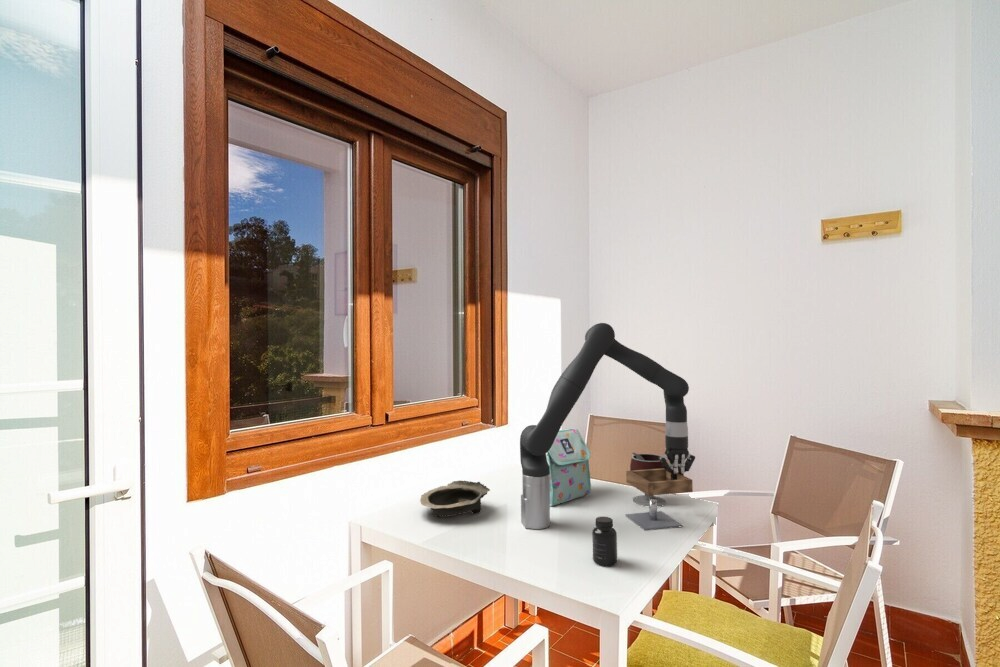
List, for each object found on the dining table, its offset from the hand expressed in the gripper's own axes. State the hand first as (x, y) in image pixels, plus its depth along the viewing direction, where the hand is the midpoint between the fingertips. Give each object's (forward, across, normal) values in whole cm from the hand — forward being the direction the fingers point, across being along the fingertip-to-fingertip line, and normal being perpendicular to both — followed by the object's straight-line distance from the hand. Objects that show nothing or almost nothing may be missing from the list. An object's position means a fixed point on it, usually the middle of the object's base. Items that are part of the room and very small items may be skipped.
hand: (677, 483), depth 178 cm
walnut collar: (+1, -7, 0) cm, 7 cm away
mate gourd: (+12, -1, +19) cm, 23 cm away
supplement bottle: (+12, -38, -26) cm, 48 cm away
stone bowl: (+12, -75, +24) cm, 80 cm away
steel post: (+12, -9, 0) cm, 15 cm away
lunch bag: (+12, -32, +32) cm, 47 cm away
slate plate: (+12, -9, 0) cm, 15 cm away
